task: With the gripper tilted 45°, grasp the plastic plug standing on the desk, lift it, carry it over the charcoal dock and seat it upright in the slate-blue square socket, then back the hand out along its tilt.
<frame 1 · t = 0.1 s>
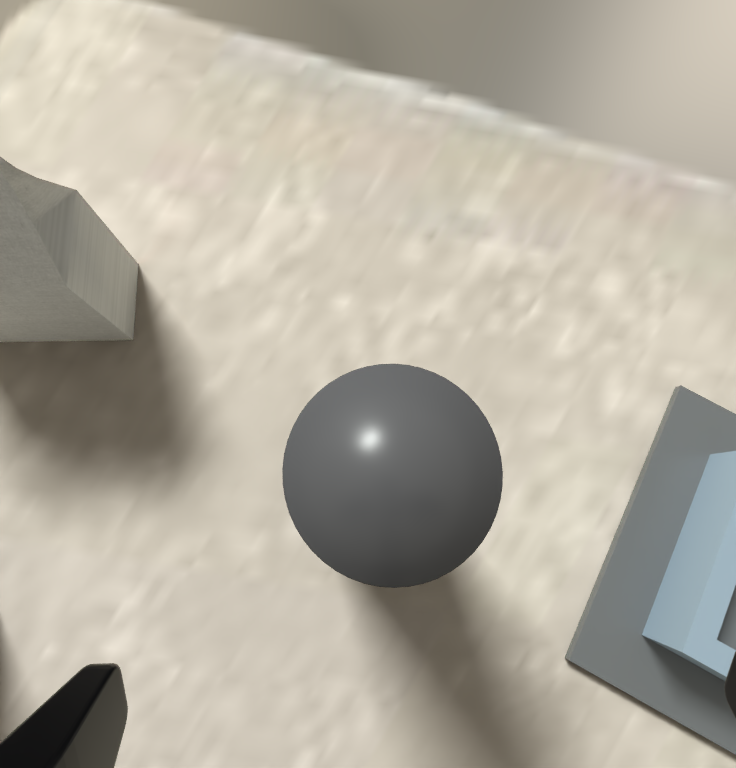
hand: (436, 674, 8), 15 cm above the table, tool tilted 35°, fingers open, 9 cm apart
grey chamfered block: (62, 304, 24), on the table
plug: (364, 488, 23), on the table
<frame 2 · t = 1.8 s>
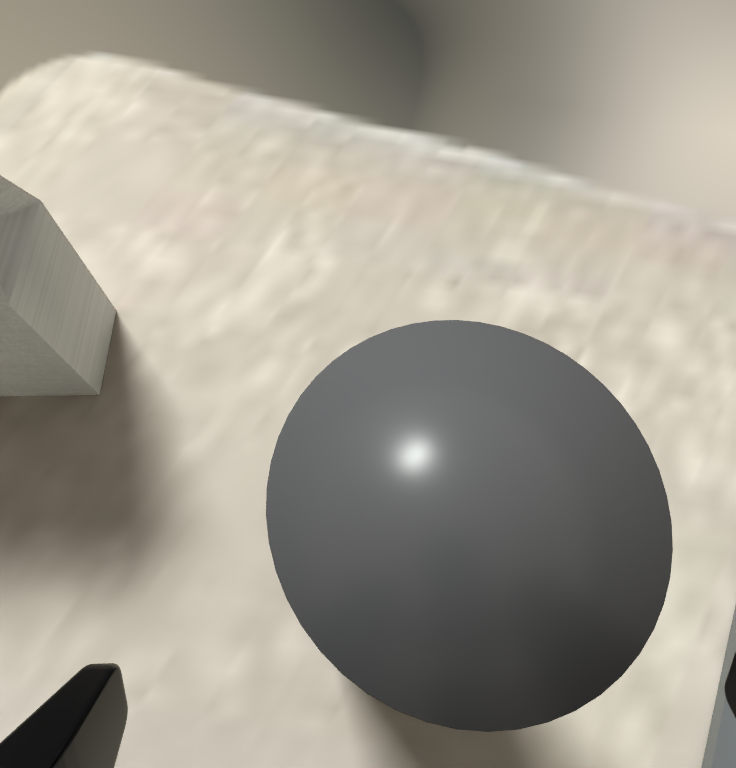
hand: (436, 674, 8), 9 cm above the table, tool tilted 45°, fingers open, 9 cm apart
grey chamfered block: (20, 354, 20), on the table
plug: (383, 585, 17), on the table
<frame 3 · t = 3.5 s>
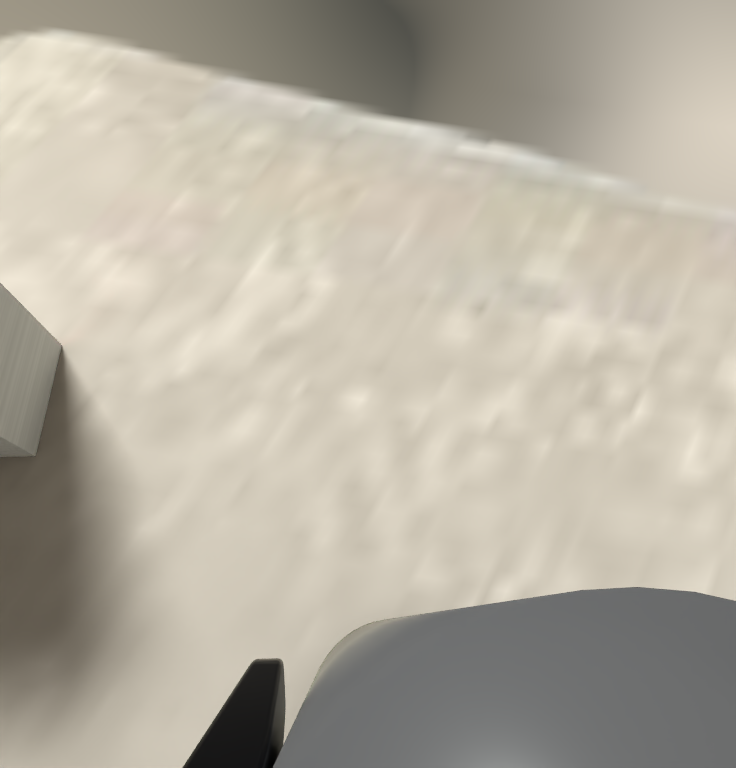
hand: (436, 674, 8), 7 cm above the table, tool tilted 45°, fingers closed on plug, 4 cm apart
plug: (395, 716, 13), on the table, touching gripper
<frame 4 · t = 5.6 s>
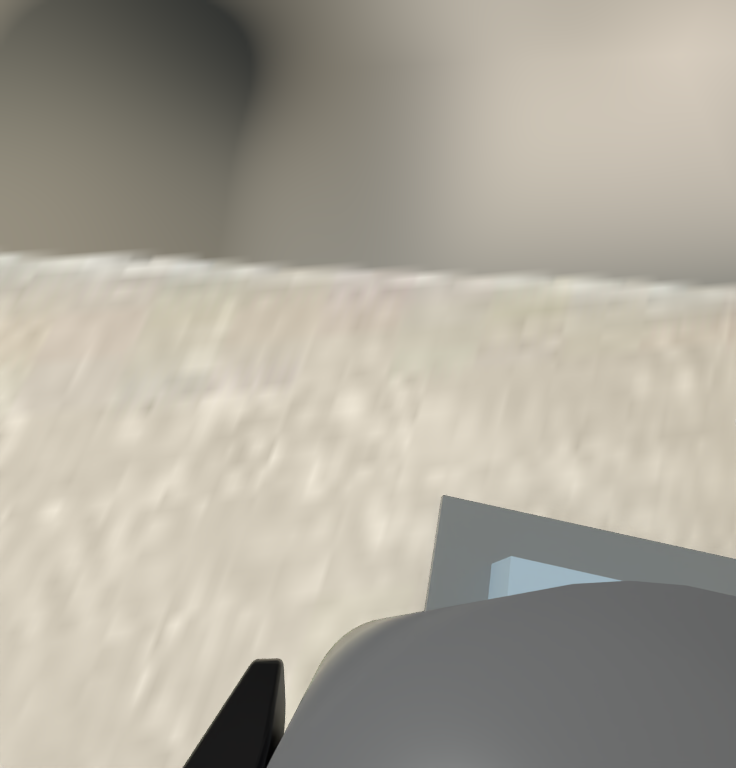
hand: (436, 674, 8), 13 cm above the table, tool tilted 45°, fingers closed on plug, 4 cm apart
dock: (589, 707, 19), on the table
plug: (394, 715, 13), point 7 cm above the table, touching gripper
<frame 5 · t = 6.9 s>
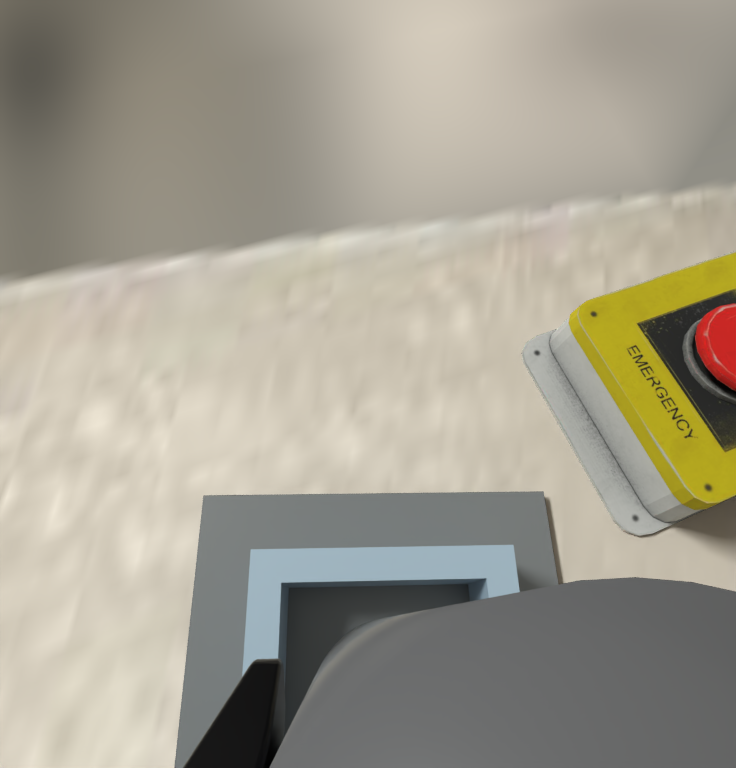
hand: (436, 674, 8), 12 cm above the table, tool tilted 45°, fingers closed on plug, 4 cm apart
dock: (381, 688, 18), on the table
emergency button: (699, 387, 24), on the table
plug: (396, 714, 13), point 5 cm above the table, touching gripper
when the fingers open (8 cm above the table, at t = 8.0 s): plug stays where it is, resting on dock.
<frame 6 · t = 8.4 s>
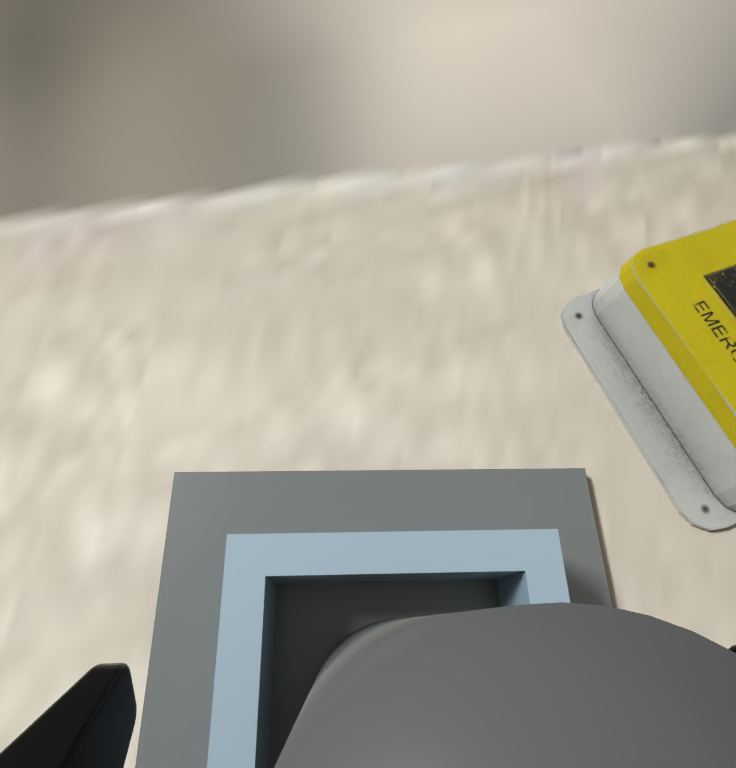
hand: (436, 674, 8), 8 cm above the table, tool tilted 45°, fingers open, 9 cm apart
dock: (391, 708, 14), on the table
plug: (393, 711, 14), resting on dock
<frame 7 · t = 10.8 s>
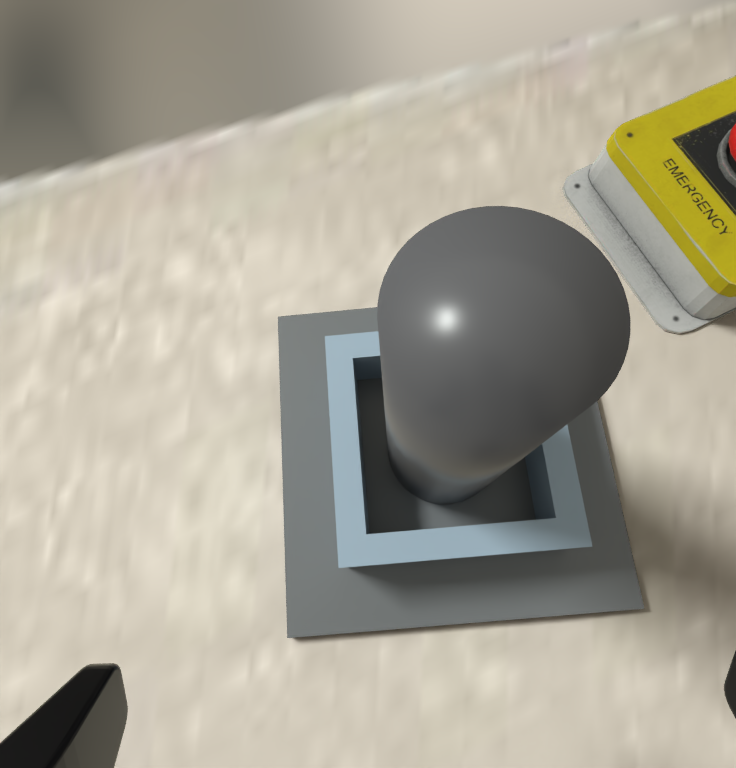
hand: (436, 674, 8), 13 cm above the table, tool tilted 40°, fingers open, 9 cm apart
dock: (441, 449, 22), on the table
plug: (442, 448, 21), resting on dock
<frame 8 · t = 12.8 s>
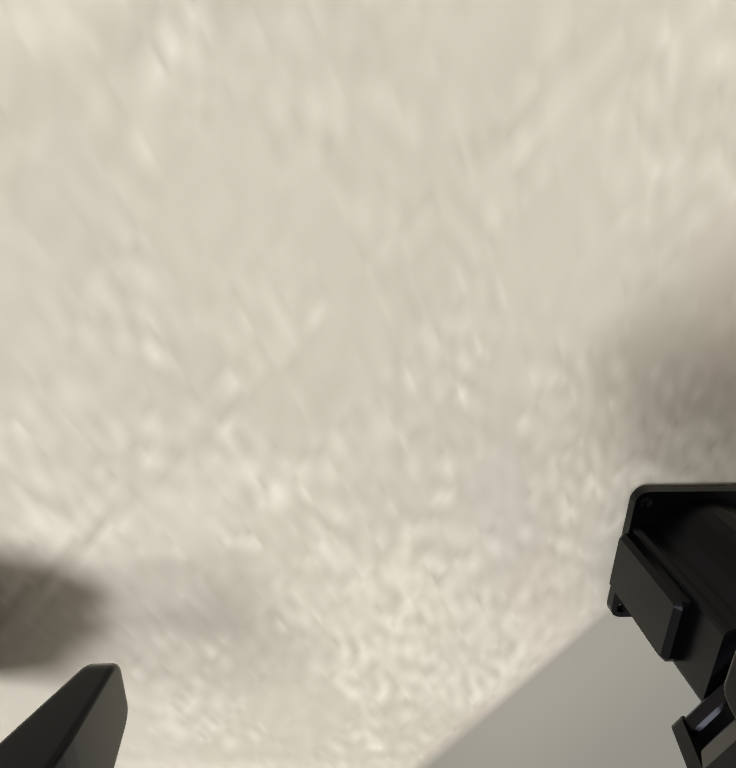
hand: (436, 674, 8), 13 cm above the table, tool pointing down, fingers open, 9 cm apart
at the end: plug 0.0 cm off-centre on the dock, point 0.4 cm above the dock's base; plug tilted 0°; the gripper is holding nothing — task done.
